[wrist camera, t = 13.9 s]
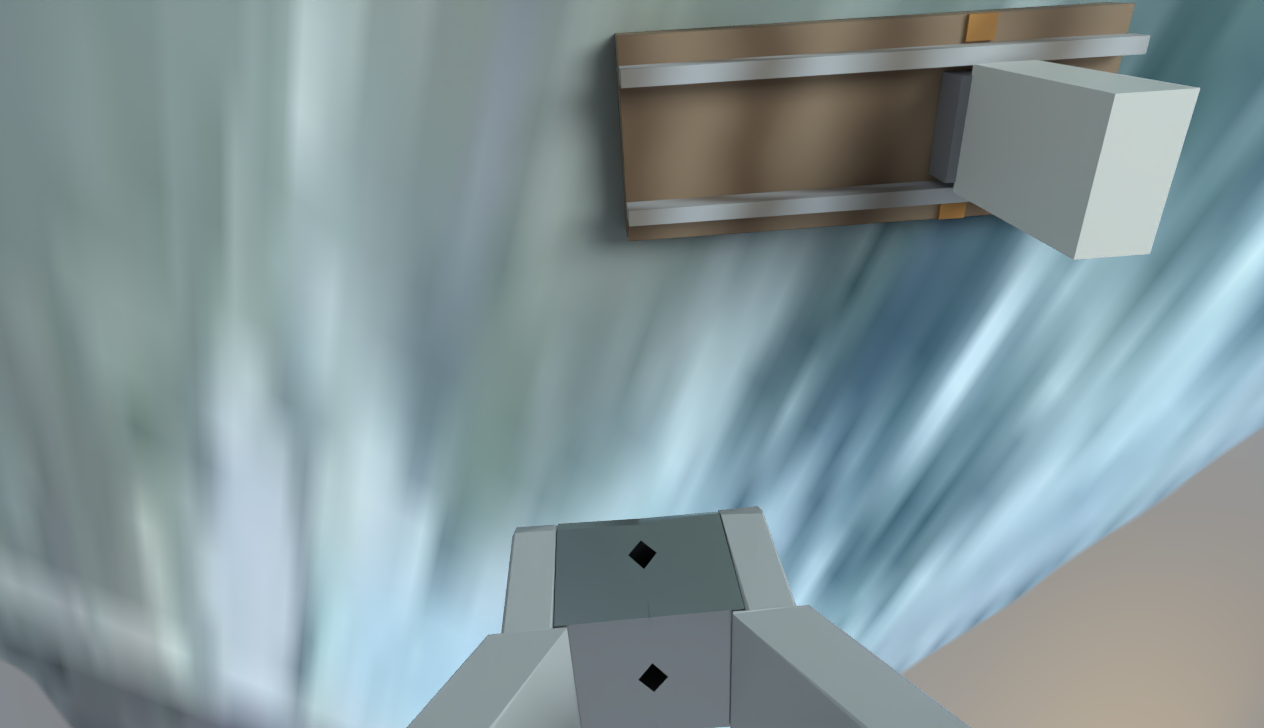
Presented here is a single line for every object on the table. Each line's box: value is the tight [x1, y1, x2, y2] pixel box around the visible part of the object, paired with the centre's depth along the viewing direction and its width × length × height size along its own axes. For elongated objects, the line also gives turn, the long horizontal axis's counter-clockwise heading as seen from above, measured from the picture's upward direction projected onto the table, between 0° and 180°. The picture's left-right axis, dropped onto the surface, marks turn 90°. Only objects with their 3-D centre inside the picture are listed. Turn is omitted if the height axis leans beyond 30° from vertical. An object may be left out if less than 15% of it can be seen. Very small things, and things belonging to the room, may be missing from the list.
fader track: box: [615, 2, 1151, 241], centre depth 37 cm, size 25×10×4 cm, turn 93°
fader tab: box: [928, 60, 1200, 260], centre depth 31 cm, size 4×6×12 cm, turn 3°
